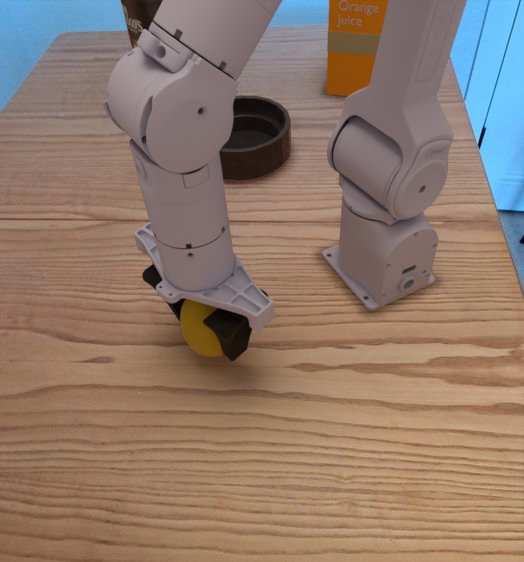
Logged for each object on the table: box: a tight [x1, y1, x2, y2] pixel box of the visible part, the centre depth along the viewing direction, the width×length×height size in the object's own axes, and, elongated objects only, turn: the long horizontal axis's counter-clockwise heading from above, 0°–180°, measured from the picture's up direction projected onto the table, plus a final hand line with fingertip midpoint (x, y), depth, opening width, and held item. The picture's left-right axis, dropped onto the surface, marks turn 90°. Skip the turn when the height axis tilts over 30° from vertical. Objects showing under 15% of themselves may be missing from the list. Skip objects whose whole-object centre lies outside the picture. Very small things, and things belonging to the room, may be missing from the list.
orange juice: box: [326, 0, 389, 97], centre depth 75 cm, size 8×9×20 cm
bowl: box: [219, 94, 292, 181], centre depth 72 cm, size 12×12×4 cm
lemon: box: [179, 299, 225, 358], centre depth 52 cm, size 6×6×8 cm
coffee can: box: [120, 0, 163, 50], centre depth 79 cm, size 10×10×14 cm
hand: (213, 336), depth 53 cm, fingers closed on lemon, 5 cm apart
